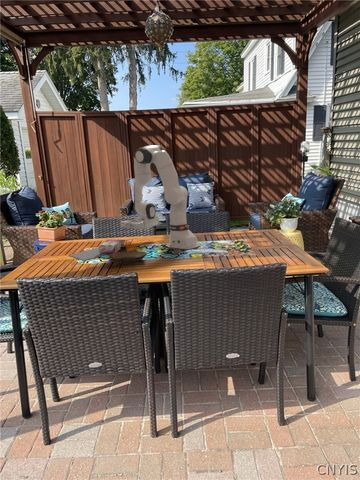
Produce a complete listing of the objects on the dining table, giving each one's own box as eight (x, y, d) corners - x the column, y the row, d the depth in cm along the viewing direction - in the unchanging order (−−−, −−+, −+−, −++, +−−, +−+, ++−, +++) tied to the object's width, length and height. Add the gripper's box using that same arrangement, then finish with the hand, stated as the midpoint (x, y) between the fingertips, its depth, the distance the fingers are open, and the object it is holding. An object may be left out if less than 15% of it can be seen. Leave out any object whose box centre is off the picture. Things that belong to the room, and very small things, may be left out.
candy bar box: (109, 246, 246) (98, 252, 231) (108, 239, 245) (97, 245, 230) (124, 246, 243) (114, 253, 228) (124, 239, 242) (114, 245, 227)
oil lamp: (103, 269, 200) (102, 256, 199) (116, 255, 230) (114, 243, 228) (143, 268, 199) (142, 254, 197) (151, 253, 228) (150, 241, 226)
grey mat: (117, 252, 235) (117, 250, 235) (83, 260, 220) (83, 258, 219) (101, 247, 250) (101, 245, 250) (68, 255, 234) (68, 253, 234)
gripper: (129, 217, 263) (113, 220, 254) (147, 220, 248) (130, 223, 239) (130, 226, 265) (114, 229, 255) (148, 229, 250) (131, 232, 241)
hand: (122, 226), depth 247 cm, fingers closed
